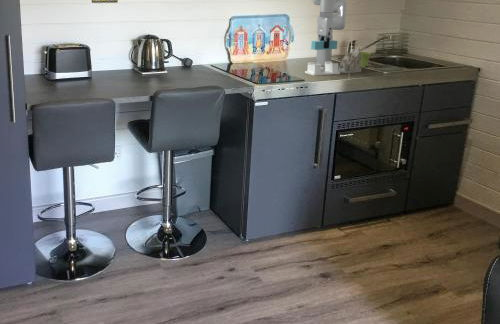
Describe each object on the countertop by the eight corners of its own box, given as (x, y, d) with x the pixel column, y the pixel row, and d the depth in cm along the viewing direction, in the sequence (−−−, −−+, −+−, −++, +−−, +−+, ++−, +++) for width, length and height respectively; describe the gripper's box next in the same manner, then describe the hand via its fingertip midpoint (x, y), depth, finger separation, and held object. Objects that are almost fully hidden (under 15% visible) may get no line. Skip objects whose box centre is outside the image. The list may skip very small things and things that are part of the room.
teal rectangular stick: (311, 48, 332) (311, 41, 331) (333, 48, 339) (333, 40, 337) (314, 49, 329) (315, 41, 328) (336, 48, 335) (337, 41, 334)
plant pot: (351, 65, 368) (352, 52, 365) (364, 65, 371) (365, 51, 368) (359, 68, 360) (360, 54, 357) (372, 67, 363) (373, 53, 360)
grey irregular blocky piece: (352, 67, 361) (353, 43, 355) (366, 73, 346) (367, 48, 341) (330, 70, 355) (330, 45, 350) (343, 75, 341) (344, 50, 336)
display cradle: (304, 72, 339) (305, 62, 337) (330, 71, 347) (331, 61, 345) (313, 75, 331) (314, 65, 329) (340, 73, 338) (340, 63, 336)
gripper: (312, 14, 333) (311, 46, 339) (328, 16, 319) (326, 49, 325) (323, 14, 337) (321, 45, 342) (340, 16, 322) (337, 49, 328)
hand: (324, 47), depth 334 cm, fingers closed on teal rectangular stick, 4 cm apart
